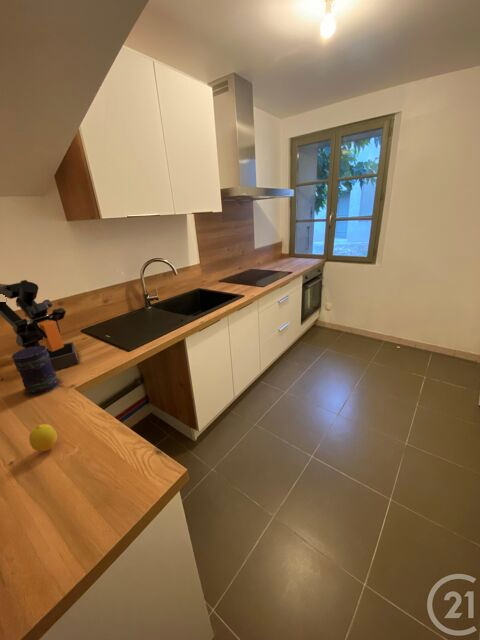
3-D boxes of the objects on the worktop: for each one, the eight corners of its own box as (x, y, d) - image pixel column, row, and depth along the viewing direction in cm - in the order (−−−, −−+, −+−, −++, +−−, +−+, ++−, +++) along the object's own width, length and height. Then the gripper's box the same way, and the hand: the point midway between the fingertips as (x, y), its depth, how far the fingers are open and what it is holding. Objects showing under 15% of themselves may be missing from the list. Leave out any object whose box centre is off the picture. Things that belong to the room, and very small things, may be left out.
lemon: (45, 441, 72) (36, 418, 69) (65, 440, 72) (56, 417, 69) (30, 458, 67) (19, 434, 64) (51, 458, 67) (40, 434, 64)
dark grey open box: (44, 361, 117) (40, 350, 115) (76, 352, 123) (73, 341, 121) (43, 374, 106) (38, 362, 104) (78, 363, 112) (74, 352, 110)
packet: (48, 350, 111) (39, 324, 106) (59, 345, 115) (51, 320, 110) (52, 351, 109) (43, 325, 105) (64, 346, 113) (55, 321, 109)
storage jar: (20, 393, 94) (4, 357, 89) (46, 378, 103) (33, 344, 98) (39, 397, 91) (24, 360, 86) (65, 381, 100) (52, 346, 94)
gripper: (5, 302, 98) (31, 333, 97) (56, 289, 113) (79, 316, 112) (3, 319, 104) (27, 348, 103) (52, 305, 119) (73, 330, 118)
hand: (53, 335), depth 109 cm, fingers closed on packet, 5 cm apart
